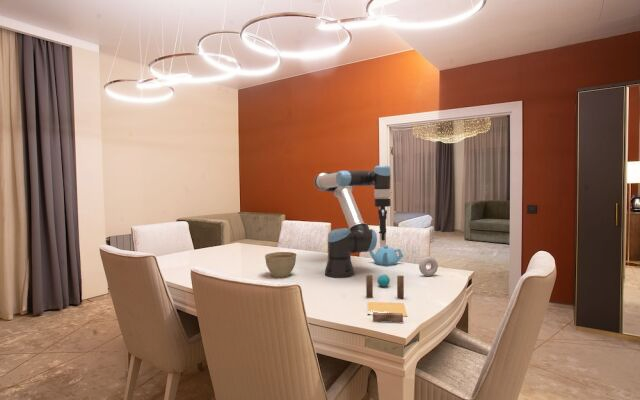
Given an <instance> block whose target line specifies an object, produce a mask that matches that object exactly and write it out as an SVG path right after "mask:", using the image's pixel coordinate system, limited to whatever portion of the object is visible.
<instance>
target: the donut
mask: <svg viewBox="0 0 640 400" xmlns="http://www.w3.org/2000/svg"><path fill="white" fill-rule="evenodd" d="M428 264H430V268H429V269H428V268H427V265H428ZM438 268H439V263H438V262H437V259H436V258H435V257H432V256H429V255H428V256H424V257H423V258H422V259H421V260H420V262H419V263H418V269H419V272H420V273H421V274H422V275H423V276H425V277H431V276H433V275H435V274H436V273H437V271H438Z"/></svg>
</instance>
